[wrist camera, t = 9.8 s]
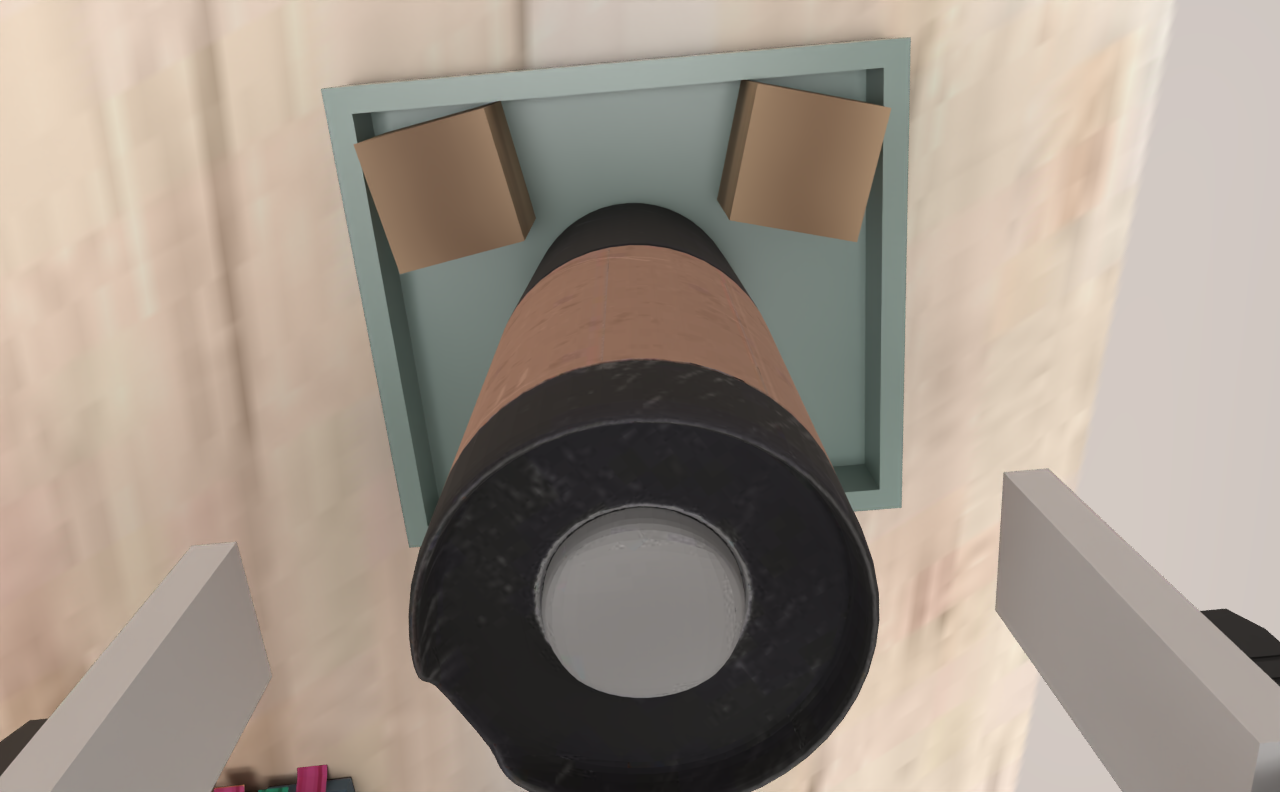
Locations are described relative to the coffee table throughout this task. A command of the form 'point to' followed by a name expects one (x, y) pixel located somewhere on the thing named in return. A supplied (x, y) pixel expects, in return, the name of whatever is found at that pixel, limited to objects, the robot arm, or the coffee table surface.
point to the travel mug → (643, 533)
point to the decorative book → (304, 783)
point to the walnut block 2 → (801, 160)
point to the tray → (651, 174)
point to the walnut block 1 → (448, 187)
